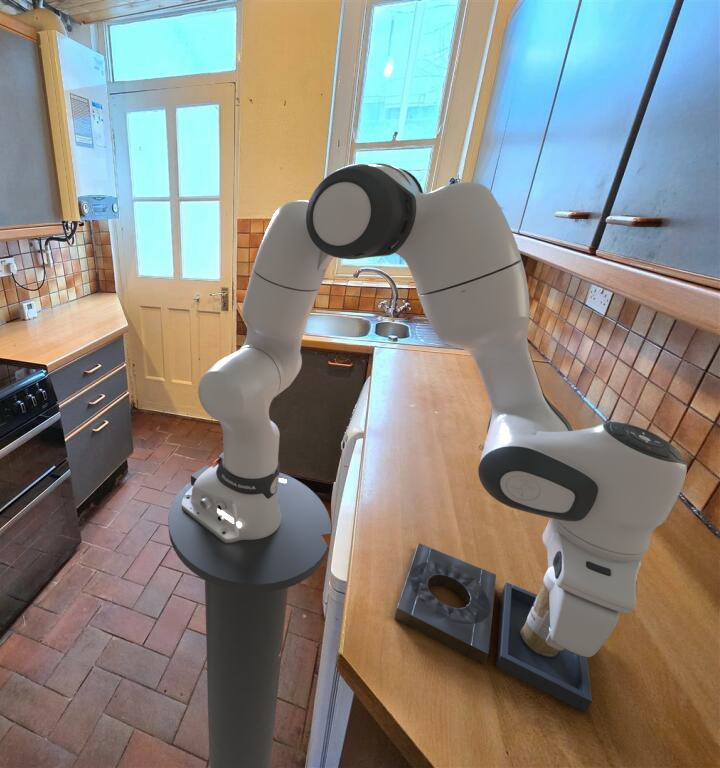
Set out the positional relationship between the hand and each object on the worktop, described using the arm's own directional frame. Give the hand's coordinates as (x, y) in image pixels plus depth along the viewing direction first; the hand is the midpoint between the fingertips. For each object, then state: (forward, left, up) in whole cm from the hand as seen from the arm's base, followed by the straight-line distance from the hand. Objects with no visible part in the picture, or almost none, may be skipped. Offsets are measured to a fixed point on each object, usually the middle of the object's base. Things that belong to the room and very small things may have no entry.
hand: (552, 616), depth 57 cm
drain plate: (-12, 0, -6) cm, 14 cm away
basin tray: (0, 0, -6) cm, 6 cm away
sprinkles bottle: (0, 0, -6) cm, 6 cm away
